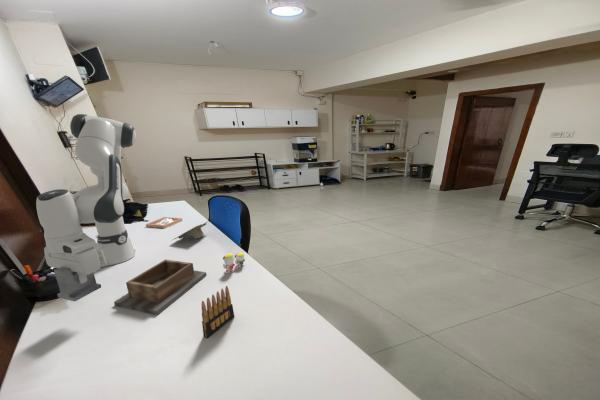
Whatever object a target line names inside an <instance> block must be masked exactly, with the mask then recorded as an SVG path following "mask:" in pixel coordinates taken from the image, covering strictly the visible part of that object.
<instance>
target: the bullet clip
mask: <svg viewBox="0 0 600 400" xmlns="http://www.w3.org/2000/svg"><path fill="white" fill-rule="evenodd" d="M230 294H231V293H230V289H229V286H228V285H225V288H221V289H220V292H219V291H218V290H217V291H216V297H215V294H213V293H212V294H211V299H210V297H206V303H205V301H204V300H201V317H202V321H201V323H202V324H201V325H202V331H203V332H202V333H203V337H205V338H206V339H209V338H210V337H211V336H212V335H214V334H215V333H217V332H218V331H219V330H220V329H221V328H222V327H224V326H225V325H226V324H228V323H229V322H230V321H232V320H233V319H235V311H234V306H233V304H232V299H231V295H230Z"/></svg>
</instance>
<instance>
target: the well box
mask: <svg viewBox="0 0 600 400" xmlns="http://www.w3.org/2000/svg"><path fill="white" fill-rule="evenodd" d="M206 276H207V272H206V271H199V270H195V269H194V263H193V262H187V261H186V262H185V261H178V260H171V259H164V260H162V261H160V262H159V263H157V264H156V265H153V266H152V267H150V268H148V269H147V270H145V271H143V272H142V273H140V274H138V275H137V276H135V277H133V278H131V279H130V280H128V281H126V282H125V284H126V289H127V292H128V293H126V294H125V295H122V296H121V297H119V298H118V299H116V300H115V301H113V304H114V306H115V307H119V308H125V309H128V310H133V311H138V312H143V313H147V314H151V315H157V316H158V315H160V314H161V313H162V312H163V311H165V310H166V309H167V308H168V307H170V306H171V305H172V304H173V303H174V302H176V300H178V299H179V298H181V297H182V296H183V295H184V294H186V292H188V291H189V290H190V289H191V288H193V287H195V285H197V284H198V283H200V281H202V280H203V279H204V278H205V277H206Z"/></svg>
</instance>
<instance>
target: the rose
mask: <svg viewBox="0 0 600 400" xmlns="http://www.w3.org/2000/svg"><path fill="white" fill-rule="evenodd" d="M170 222H173V220H172V219H168V218H165V219H163V220H162V221H161V222H159V223H158V225H166V224H168V223H170Z"/></svg>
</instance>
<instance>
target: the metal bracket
mask: <svg viewBox="0 0 600 400" xmlns="http://www.w3.org/2000/svg"><path fill="white" fill-rule="evenodd" d="M53 272H54V275H55V276H54V277H55V279H56V281H57V282H56V283H57V285H58V290H59V293H57V294H56V295H57V298H60V299H63V300H67V301H71V302H75V303H76V302H78V301H79V300H81V299H82V298H84V297H86V296H89V294H92V293H93V292H96V291H97V290H99V289H101V288H102V285H101V283H98V282H97V280H96V276H95V272H93V273H91V274H89V275H87V276H86V277H87V281H86V282H85V283H83V284H82V283H78V280H77V278H79V275H78V274H77V272H73V271H71V268H66V267H60V268H55V269H54V270H53Z"/></svg>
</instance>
